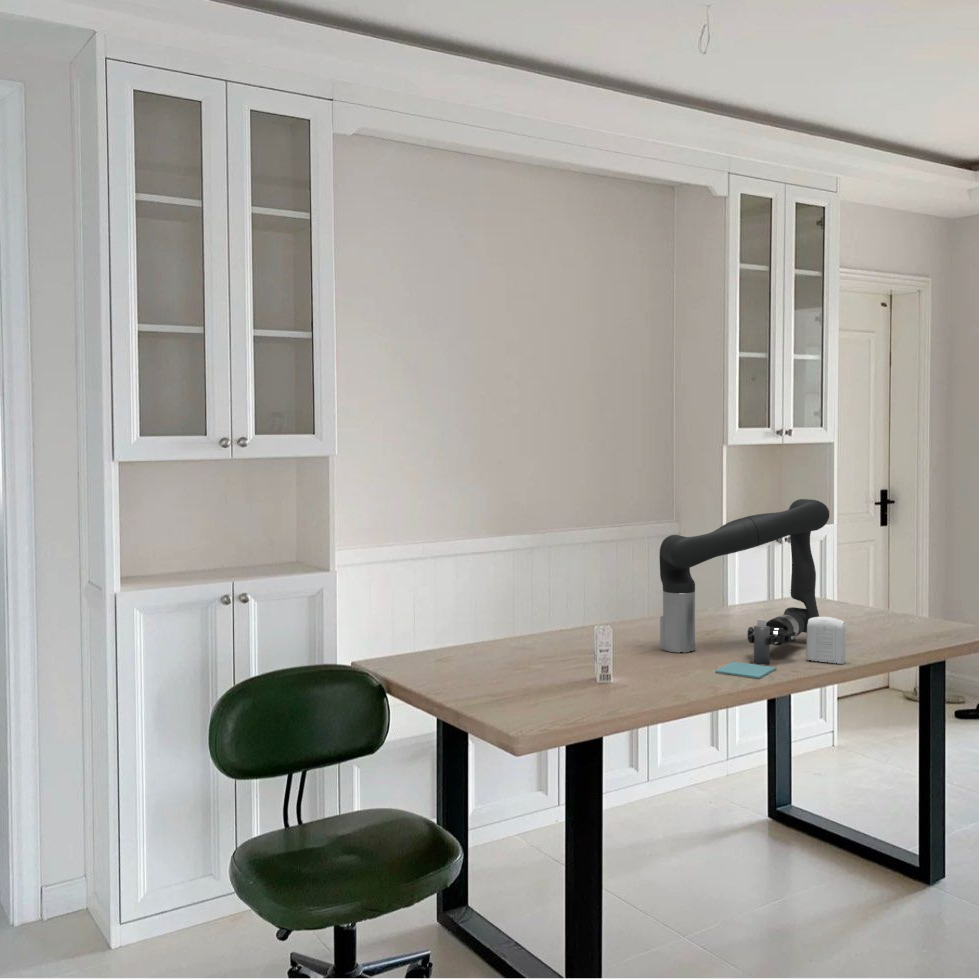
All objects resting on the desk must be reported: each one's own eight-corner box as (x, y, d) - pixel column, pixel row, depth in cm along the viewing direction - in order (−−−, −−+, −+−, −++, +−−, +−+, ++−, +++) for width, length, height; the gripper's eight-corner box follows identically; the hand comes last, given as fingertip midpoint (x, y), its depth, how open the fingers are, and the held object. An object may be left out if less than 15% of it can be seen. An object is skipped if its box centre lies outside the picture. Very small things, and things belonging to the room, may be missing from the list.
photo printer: (846, 661, 281) (847, 617, 280) (843, 665, 277) (844, 620, 276) (808, 658, 286) (808, 614, 285) (804, 661, 282) (805, 616, 281)
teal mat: (715, 672, 270) (715, 670, 270) (733, 663, 280) (733, 661, 280) (759, 679, 263) (759, 676, 263) (776, 669, 273) (776, 667, 273)
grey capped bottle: (751, 663, 280) (751, 620, 279) (757, 660, 284) (757, 617, 283) (766, 665, 278) (766, 621, 277) (771, 662, 281) (772, 619, 280)
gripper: (757, 614, 296) (734, 624, 282) (806, 619, 288) (784, 629, 274) (757, 639, 297) (734, 651, 283) (806, 645, 288) (784, 657, 275)
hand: (759, 640), depth 279 cm, fingers closed on grey capped bottle, 4 cm apart
